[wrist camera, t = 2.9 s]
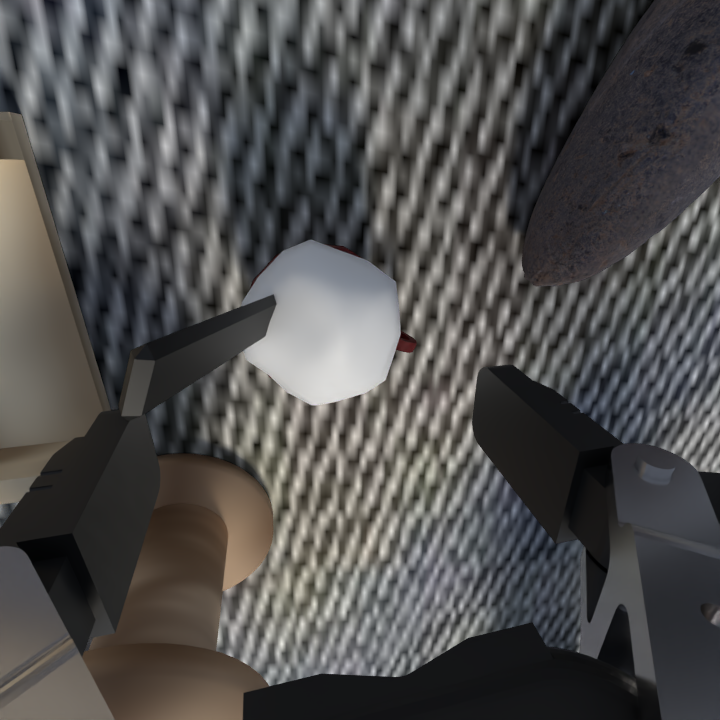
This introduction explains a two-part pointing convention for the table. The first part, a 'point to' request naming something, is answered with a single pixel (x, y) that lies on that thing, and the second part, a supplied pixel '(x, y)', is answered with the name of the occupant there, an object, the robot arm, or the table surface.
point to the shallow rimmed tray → (37, 327)
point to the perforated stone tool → (633, 147)
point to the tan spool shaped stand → (185, 597)
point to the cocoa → (285, 333)
